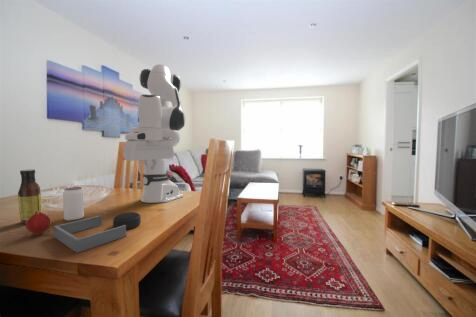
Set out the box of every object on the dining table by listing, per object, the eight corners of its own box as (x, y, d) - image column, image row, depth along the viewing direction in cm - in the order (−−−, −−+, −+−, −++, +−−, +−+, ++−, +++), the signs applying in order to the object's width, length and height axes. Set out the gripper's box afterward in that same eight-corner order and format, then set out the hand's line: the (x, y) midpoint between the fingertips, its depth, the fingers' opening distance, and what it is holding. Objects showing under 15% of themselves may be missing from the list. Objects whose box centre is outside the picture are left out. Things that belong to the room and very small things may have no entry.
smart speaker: (141, 221, 86) (141, 210, 86) (139, 229, 77) (139, 218, 77) (116, 223, 83) (116, 212, 83) (110, 232, 75) (110, 220, 74)
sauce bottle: (32, 218, 87) (30, 168, 86) (47, 219, 86) (45, 168, 85) (14, 224, 80) (11, 170, 79) (29, 225, 80) (27, 170, 79)
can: (73, 221, 84) (72, 190, 83) (59, 220, 85) (58, 189, 85) (88, 216, 90) (87, 187, 90) (74, 215, 92) (73, 186, 91)
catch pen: (100, 224, 81) (100, 215, 81) (126, 236, 71) (126, 225, 71) (54, 237, 70) (53, 226, 70) (76, 252, 60) (76, 240, 60)
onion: (30, 233, 73) (29, 209, 72) (52, 230, 75) (51, 207, 75) (24, 240, 67) (22, 214, 67) (48, 236, 70) (47, 211, 70)
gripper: (167, 137, 97) (167, 168, 98) (120, 135, 80) (121, 172, 81) (177, 136, 93) (177, 169, 94) (130, 134, 76) (130, 174, 77)
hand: (151, 171), depth 87 cm, fingers closed
